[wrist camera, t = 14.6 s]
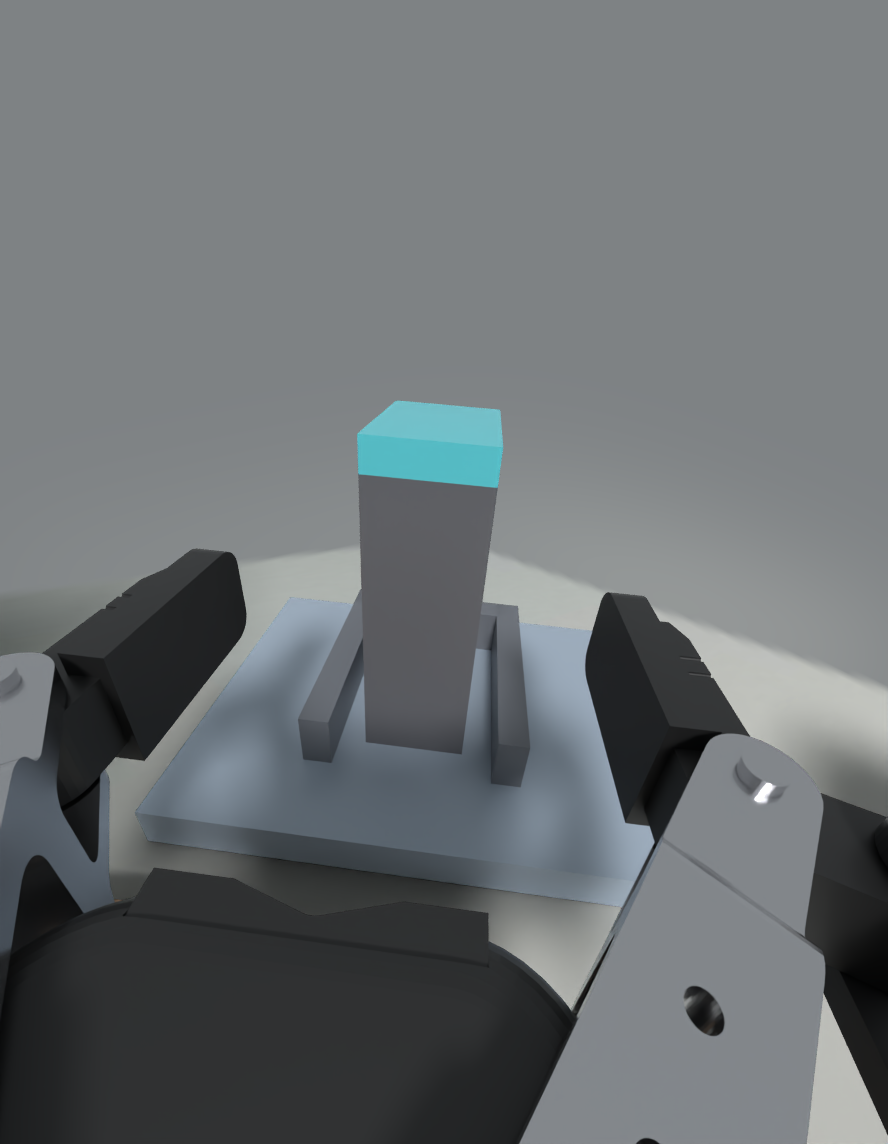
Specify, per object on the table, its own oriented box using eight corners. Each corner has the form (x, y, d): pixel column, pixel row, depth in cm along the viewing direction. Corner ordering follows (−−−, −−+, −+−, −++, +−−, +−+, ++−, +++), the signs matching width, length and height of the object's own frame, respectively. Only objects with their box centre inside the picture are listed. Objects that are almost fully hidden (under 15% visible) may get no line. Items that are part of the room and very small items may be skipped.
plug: (365, 742, 16) (357, 433, 11) (392, 652, 21) (396, 400, 15) (461, 754, 16) (502, 447, 11) (468, 661, 20) (500, 409, 15)
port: (147, 840, 14) (114, 769, 12) (293, 619, 25) (286, 564, 23) (658, 912, 13) (700, 847, 12) (586, 653, 24) (602, 598, 22)
